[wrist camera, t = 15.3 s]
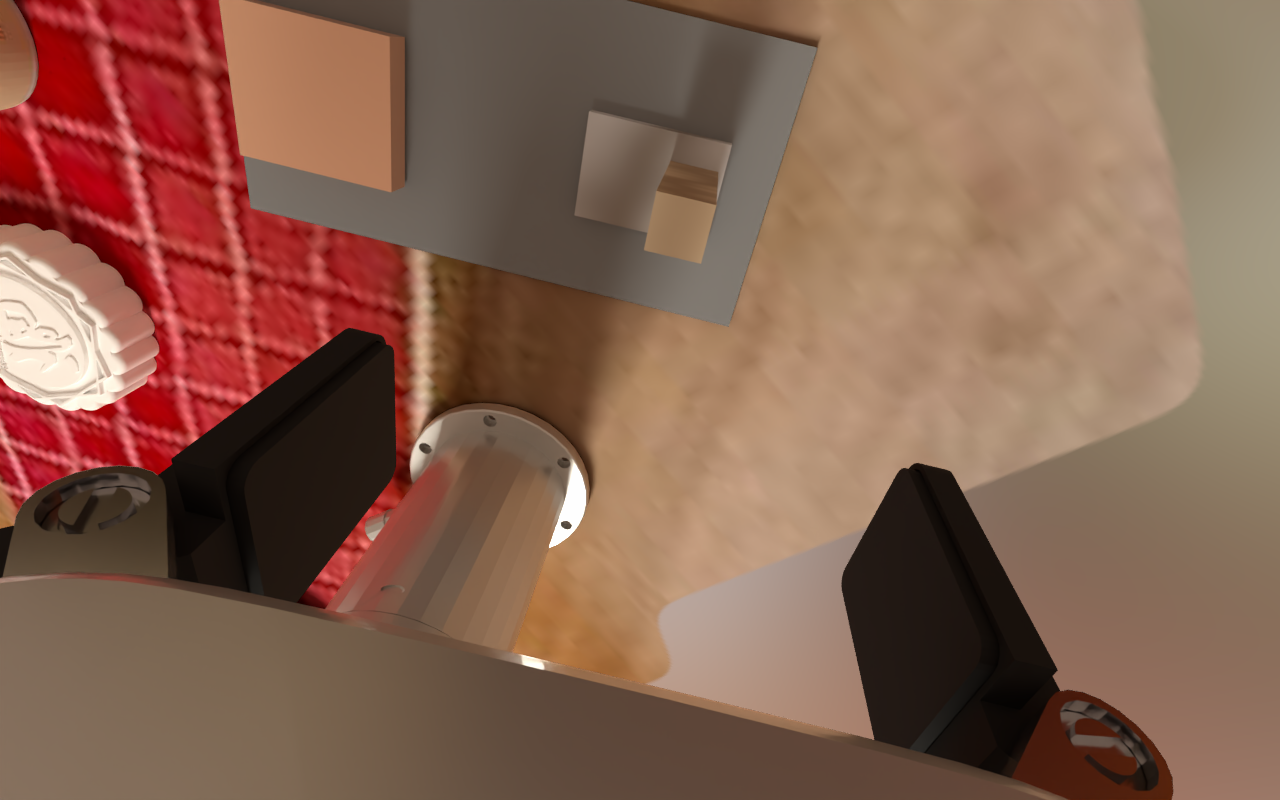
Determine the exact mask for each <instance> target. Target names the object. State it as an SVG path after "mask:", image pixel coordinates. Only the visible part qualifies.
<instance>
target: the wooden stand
mask: <svg viewBox="0 0 1280 800" xmlns="http://www.w3.org/2000/svg"><path fill="white" fill-rule="evenodd" d="M731 147H732V143H729V142H725V141H721V140H717V139H712V138H708V137H704V136H700V135H696V134H691V133H687V132H683V131H679V130H675V129H671V128H666V127H662V126H658V125H654V124H650V123H645V122H641V121H637V120H633V119H629V118H625V117H620V116H616V115H612V114H608V113H604V112H599V111H595V110H591V111H589V115H588V122H587V129H586V137H585V144H584V151H583V158H582V165H581V172H580V179H579V186H578V193H577V200H576V207H575V214H574V215H575V216H579V217H584V218H588V219H592V220H596V221H600V222H604V223H609V224H613V225H617V226H621V227H625V228H630V229H634V230H638V231H642V232H646V233H647V238H646V243H645V247H644V250H645V251H649V252H654V253H658V254H662V255H666V256H670V257H674V258H679V259H683V260H687V261H691V262H695V263H700V264H701V262H702V258H703V254H704V251H705V247H706V243H707V239H708V235H709V232H710V228H711V224H712V220H713V217H714V213H715V209H716V205H717V200H718V196H719V192H720V189H721V185H722V181H723V177H724V173H725V170H726V166H727V162H728V158H729V155H730V151H731Z"/></svg>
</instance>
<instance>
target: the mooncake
mask: <svg viewBox="0 0 1280 800" xmlns="http://www.w3.org/2000/svg"><path fill="white" fill-rule="evenodd" d="M142 309H143V304H142V301H141V299H140V297H139V296H138V295H137V294H136V293H135V292H134V291H133V290H132V289H130V288H129V287H127V286H125V284H124V280H123V278H122V276H121V275H120V273H119V272H118V271H117V270H116V269H115V268H113V267H112V266H110V265H108V264H106V263H101V261H100V259H99V257H98V256H97V255H96V254H95V252H94V251H92V250H91V249H90V248H89V247H87V246H85V245H83V244H78V243H76V244H73V243H72V242H71V240H70V239H69V238H68V237H67V236H65V235H64V234H62V233H61V232H59V231H56V230H46V231H43V230H41V229H40V228H38V227H37V226H35V225H32V224H28V223H24V224H19V225H15V226H10V225H0V377H1V378H2V379H3V380H4V382H5V383H6V384H7V385H8V386H9V387H10V388H12V389H13V390H15V391H17V392H20V393H26V394H27V395H29V396H30V397H31V398H33V399H34V400H36V401H38V402H40V403H42V404H46V405H53V404H56V405H57V406H59V407H60V408H63V409H65V410H70V411H73V410H78V409H80V408H82V409H85V410H96V409H99V408H100V407H102V406H104V405H106V404H110V403H113V402H115V401H116V400H118V399H120V398H122V397H123V396H125V395H127V394H128V393H130V392H132V391H134V390H135V389H137V388H139V387H140V386H142V385H144V384H145V383H146V382H147V380H148V375H150V374H151V373H153V372H154V371H155V370H156V368H157V363H156V360H155V358H154V356H156V355H157V354H158V353H159V345H158V342H157V341H156V339H155V338H154V337H153V336H152V334H153V333H154V330H155V327H154V323H153V321H152V320H151V318H150V317H149V316H148V315H147V314H146V313H145V312H143V311H142Z"/></svg>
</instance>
